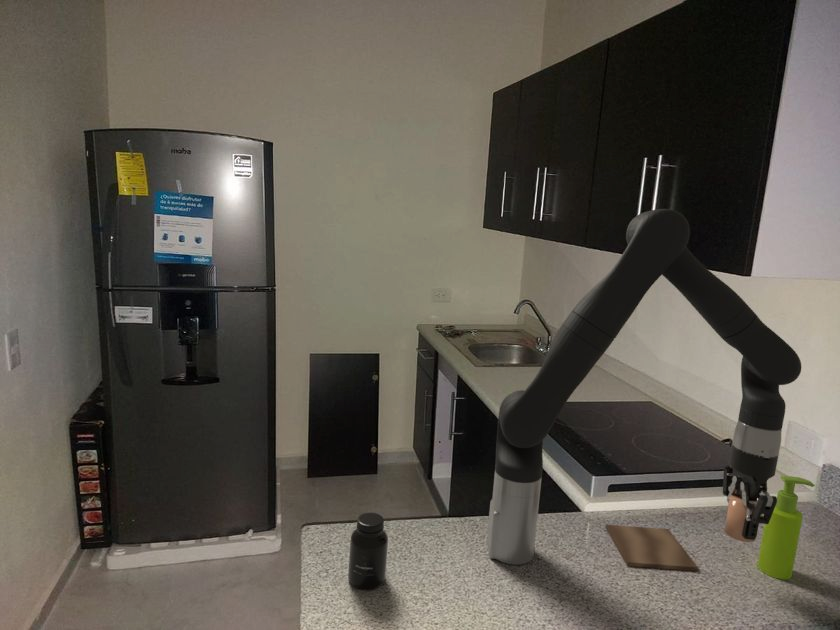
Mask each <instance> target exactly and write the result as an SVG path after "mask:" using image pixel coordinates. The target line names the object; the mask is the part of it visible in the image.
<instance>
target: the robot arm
mask: <svg viewBox="0 0 840 630" xmlns="http://www.w3.org/2000/svg"><path fill="white" fill-rule="evenodd" d="M690 235H691V229H690V224H689V221H688V219H687V218H686V216H684V215H683V213H681V212H679V211H677V210H674V209H670V208H658V209H652V210H651V209H650V210H647V211H645V212H641V213H639V214H637V215H636V216H635V217H633V218H632V220H631V221H630V222H629V224H628V225H627V229H626V233H625V240H626V243H627V246H626V248H625V250H624V251H623V253H622V254H621V256H620V257H619V259H618V261H617V262H616V264H615V265H614V266H613V267H612V268H611V270H610V271H608V273H607V274H606V275H605V276H604V277H603V278H602V279H601V280H599V282H598V283H597V284H596V285H594V286H593V287H592V288H591V289H590V290H589V291H588V292H586V294H585V295H584V296H583V297H582V298H581V299H580V300H579V301H578V302H577V304H576V305H575V306H574V307H573V308H572V310H571V312H570V313H569V314H568V316H567V317H566V318H565V320H564V321H563V323H562V324H561V325H560V327H559V328H558V330H557V332H556V333H555V335H554V338H553V339H552V341H551V344H550V346H549V349H548V351H547V353H546V354H545V355H546V356H545V358H544V360H543V363H542V365H541V367H540V369H539V371H538V372H537V374H536V375H535V377H534V378H533V380H532V381H531V382H530V384H528V386H527V387H526V388H525V390H516V391H512V392H511V393H509V394H508V395H507V396H505V397H504V399H502V402H501V403H500V406H499V410H498V411H499V412H498V417H497V431H496V433H497V434H496V444H495V467H494V478H493V488H492V498H491V500H490V502H489V503H490V504H489V512H488V525H487V536H486V544H487V550H488V556H489V558H490V559H492V560H493V559H494V560H497V561H499V562H501V563H504V564H508V565H513V566H514V565H524V564H528V563H529V562H531V561H532V560H533V559H534V554H535V549H536V548H535V547H536V546H535V545H536V537H537V536H536V535H537V527H538V526H537V525H538V524H537V523H538V516H539V506H540V505H539V504H540V496H541V486H542V479H543V478H542V476H543V469H544V468H543V467H544V464H543V463H544V461H543V445H544V444H543V443H544V440H545V438H546V437H547V436H548V434H549V432H551V431H550V430H551V429H552V428H553V425H554V424H555V422H556V420H557V418H558V417H559V415H560V413H561V412H562V410H563V408H564V406H565V405H566V403H567V402H568V400H569V399H570V397H571V395H572V394H573V393H574V392H575V390H576V389H577V388H578V387H579V386H580V384H581V383H582V382H583V381H584V379H585V378H586V377H587V375H588V374H589V373H590V372H591V370H592V369H593V368H594V367H595V365H596V364H597V362H599V360H600V359H601V357H602V356H603V355H604V354H605V352H606V351H607V350H608V349H609V347H610V346H611V344H612V343H613V342H614V341H615V339H616V338H617V337H618V335H619V333H620V332H621V330H622V329H623V327H624V326H625V324H626V323H627V322H628V320H629V319H630V318H631V316H632V315H633V313H634V312H635V311H636V309H637V307H638V306H639V304H640V303H641V301H642V300H643V298H644V296H645V295H646V294H647V293H648V291H649V289H650V288H651V287H652V286H653V285H654V284H655V283H656V282H657V280H658V279H660V277H661V276H663V277H664V278H665V279H666V280H667V281H668V282H669V283H670V284H671V285H672V286H673V287H675V288H676V289H677V291H679V292H680V293H681V295H682V296H683V297H684V298H685V299H686V300H687V301H688V302H689V303H690V305H691V306H692V307H693V308H694V309H695V310H696V311H697V313H698V314H699V315H700V316H701V318H703V319H704V320H705V322H706V323H707V324H708V325H709V326H710V327H711V328H712V329H713V330H714V332H715V333H716V334H717V335H718V336H719V337H720V338H721V340H723V341H724V342H725V343H726V344H728V345H729V346H730V347H732V348H734V349H735V350H736V351H738V352H739V353H740V355H741V356H742V357H741V364H740V365H741V366H740V367H741V368H740V378H741V379H740V384H741V385H740V386H741V393H742V394H741V395H742V397H741V398H742V399H741V402H740V407H739V413H738V418H737V423H736V424H735V425H736V426H735V429H734V431H733V439H732V442H731V443H732V444H731V449H730V454H729V455H730V456H729V461H728V464H729V465H726V464H725V465H724V466H723V479H722V481H723V482H722V494H723V496H725V497H726V502H727V503H728V504H727V507H728V506H729V500H730V496H731V495H738V496H742V503H743V506H744V507H745V508H746V509H745V510H746V519H745V522H744V527H743V533H742V536H743V537H744V538H745V539H750V540H754V539H755V540H756V539H757V536H758V530H759V527H760V524H769V521H770V519H771V516H772V514H773V511H774V508H775V506H776V503H777V495H776V496H775V495H770V493H769V492H768V480H770V479H771V478H773V477H774V476H775V474H776V471H777V465H778V461H779V455H780V450H781V444H782V431H783V430H782V429H783V425H784V419H785V414H786V406H787V405H786V401H785V399H784V397H782V395H781V393H780V386H785V385H789V384H792V383H793V382H795V381H796V380H797V379H798V378H799V377H800V375H801V371H802V362H801V358H800V357H799V355H798V354H797V352H796V351H795V350H794V349H793V347H792V346H790V345H789V344H788V343H787V342H786V341H785V340H784V339H783V338H782V337H781V336H779V335H778V334H777V333H776V332H775V331H774V330H772V329H771V328H770V327H769V326H767V324H765V323H764V322H763V321H762V319H761V318H760V317H759V316H758V315H757V314H756V312H754V310H753V309H752V308H751V307H750V305H748V304H747V303H746V301H745V300H744V299H743V298H742V297H741V296H740V294H738V293H737V292H736V291H735V290H734V289H733V288H731V287H730V286H729V285H728V284H727V283H725V282H724V281H723V280H722V279H720V278H718V276H716V275H715V274H714V273H712V272H711V271H710V270H709V269H708V268H707V267H706V266H705V265H703V264H702V262H700V261H699V260H698V259H697V258H696V256H694V255H693V253H692V252H691V251H690V249H689V248H688V247H687V245H688V243H689V240H690V237H691V236H690ZM749 501H758V502H757V504H752V503H749ZM752 508H755V511H754V513H753V515H752ZM727 511H728V509H727ZM727 511H726V512H727ZM726 517H727V515H726ZM726 517H725V518H726Z"/></svg>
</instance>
